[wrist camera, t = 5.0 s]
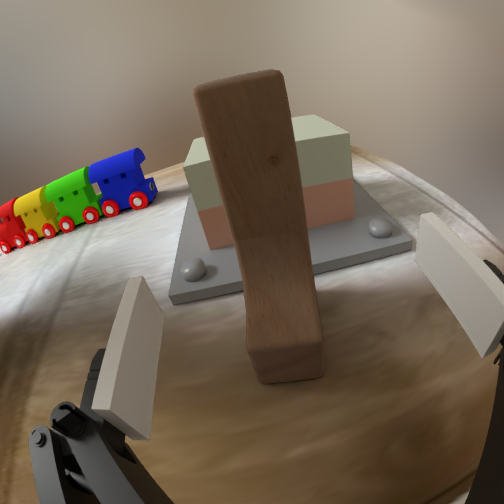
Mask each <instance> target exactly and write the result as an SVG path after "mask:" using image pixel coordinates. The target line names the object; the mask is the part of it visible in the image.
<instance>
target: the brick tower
mask: <svg viewBox="0 0 504 504" xmlns="http://www.w3.org/2000/svg"><path fill="white" fill-rule="evenodd" d="M291 119H292V125H293V131H294V137H295V143H296V149H297V155H298V162H299V168H300V175H301V182H302V189H303V196H304V204H305V212H306V220H307V228H308V236H309V244H310V252H311V260H312V268H313V275H315V274H319V273H323V272H327V271H331V270H335V269H339V268H343V267H348V266H352V265H356V264H359V263H363V262H367V261H371V260H375V259H379V258H383V257H387V256H390V255H394V254H398V253H402V252H405V251H409V250H411V248H412V239H411V238H410V237H409V236H408V235H407V234H406V232H405V231H404V230H403V229H402V228H401V227H400V226H399V225H398V224H397V223H396V222H395V221H394V220H393V219H392V217H391V216H390V215H389V214H388V213H387V212H386V211H385V210H384V209H383V208H382V207H381V206H380V205H379V204H378V203H377V202H376V201H375V200H374V199H373V198H372V197H371V196H370V195H369V194H368V193H367V192H366V191H365V190H364V189H363V188H362V187H361V186H359V185H358V184H357V183H356V182H355V181H354V180H353V172H352V158H351V146H350V135H349V133H348V132H347V131H345V130H343V129H341V128H339V127H337V126H335V125H334V124H332V123H330V122H328V121H326V120H324V119H322V118H320V117H318V116H316V115H314V114H313V115H307V116H301V117H294V118H291ZM183 169H184V172H185V175H186V178H187V181H188V184H189V188H190V191H191V193H190V194H189V198H188V202H187V207H186V211H185V216H184V220H183V225H182V229H181V234H180V239H179V244H178V249H177V254H176V259H175V264H174V269H173V274H172V280H171V285H170V291H169V297H170V299H171V301H172V303H173V305H175V304H180V303H185V302H190V301H195V300H200V299H205V298H210V297H215V296H220V295H225V294H230V293H234V292H239V291H244V290H243V282H242V277H241V272H240V268H239V263H238V259H237V254H236V250H235V247H234V243H233V240H232V236H231V233H230V229H229V226H228V222H227V219H226V215H225V212H224V208H223V204H222V201H221V197H220V194H219V190H218V187H217V183H216V179H215V176H214V172H213V169H212V165H211V161H210V158H209V154H208V150H207V147H206V143H205V139H204V137H201V138H197V139H194V141H193V143H192V146H191V148H190V151H189V153H188V156H187V158H186V161H185V163H184V166H183Z"/></svg>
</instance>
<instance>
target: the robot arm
mask: <svg viewBox="0 0 504 504" xmlns="http://www.w3.org/2000/svg"><path fill="white" fill-rule="evenodd" d="M414 261H415V262H416V263H417V265H418V266H419V267H420V269H421V270H422V271H423V272H424V274H425V275H426V276H427V278H428V279H429V280H430V282H431V283H432V284H433V286H434V287H435V288H436V290H437V291H438V293H439V294H440V295H441V297H442V298H443V300H444V301H445V302H446V304H447V305H448V307H449V308H450V310H451V311H452V312H453V314H454V315H455V317H456V318H457V320H458V321H459V323H460V324H461V326H462V327H463V329H464V330H465V332H466V334H467V335H468V337H469V338H470V340H471V341H472V343H473V345H474V346H475V348H476V350H477V351H478V353H479V355H480V356H481V358H484V357H485V356H487V355H489V354H491V353H492V352H494V351H495V349H496V348H497V346H498V344H499V343H501V345H502V346H503V348H502V349H501V351H500V352H499V354H498V355H497V357H496V358H495V360H494V363H493V364H496V363H497V361H498V360H499V358H500V363H499V364H498V365H499V373H498V381H497V388H496V395H495V401H494V406H493V412H492V417H491V421H490V426H489V430H488V434H487V438H486V442H485V446H484V450H483V453H482V457H481V460H480V463H479V466H478V469H477V472H476V475H475V478H474V481H473V484H472V486H471V489H470V492H469V494H468V497H467V499H466V502H465V504H504V275H502V272H501V271H500V270H499V269H498V268H497V267H496V266H495V265H494V264H492V263H491V262H489V261H487V260H483V261H482V260H481V258H480V257H479V256H478V255H477V254H476V253H475V252H474V251H473V250H472V249H471V248H470V247H469V246H468V245H467V244H466V243H465V242H464V241H463V240H462V239H461V238H460V237H459V236H458V235H457V234H456V233H455V232H454V231H453V230H452V229H451V228H449V227H448V226H447V225H446V224H445V223H444V222H443V221H442V220H441V219H440V218H439V217H438V216H436V215H435V214H434V213H433V212H429V213H425V214H420V221H419V230H418V238H417V245H416V252H415V259H414ZM164 320H165V316H164V314H163V312H162V311H161V309H160V307H159V305H158V304H157V302H156V300H155V298H154V296H153V295H152V293H151V291H150V289H149V287H148V285H147V283H146V281H145V280H144V278H143V276H139V277H135V278H130V279H128V281H127V284H126V287H125V290H124V292H123V295H122V298H121V301H120V304H119V308H118V311H117V314H116V317H115V320H114V323H113V327H112V330H111V333H110V337H109V340H108V344H107V347H106V348H105V349H99V350H98V352H97V353H96V355H95V356H94V358H93V359H92V363H91V366H90V372H89V373H88V377H87V379H88V380H87V381H86V385H85V389H84V392H83V397H82V401H81V405H80V409H79V408H78V407H76V406H75V405H74V404H73V403H70V402H62V403H60V404H58V405H57V406H56V407H55V408H54V409H53V411H52V413H51V417H50V425H51V427H52V428H53V429H54V430H51V429H49V428H48V427H47V426H44V425H38V426H36V427H35V428H34V429H33V430H32V431H31V433H30V436H29V448H30V456H31V463H32V469H33V475H34V480H35V485H36V490H37V495H38V499H39V503H40V504H174V503H173V502H172V501H171V499H170V498H169V497H168V496H167V495H166V494H165V492H164V491H163V490H162V489H161V488H160V487H159V485H158V484H157V483H156V482H155V480H154V479H153V478H152V477H151V475H150V474H149V473H148V471H147V470H146V469H145V468H144V466H143V465H142V464H141V462H140V461H139V460H138V458H137V457H136V455H135V454H134V453H133V451H132V450H131V448H130V447H129V445H128V444H127V443H126V442H125V435H126V436H128V437H129V438H131V439H132V440H150V437H151V425H152V414H153V403H154V394H155V385H156V377H157V369H158V361H159V354H160V347H161V340H162V333H163V327H164Z"/></svg>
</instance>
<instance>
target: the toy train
mask: <svg viewBox="0 0 504 504" xmlns="http://www.w3.org/2000/svg"><path fill="white" fill-rule="evenodd" d="M144 160H145V156H144V154H143V152H142V151H141V150H140V149H139V148H135V149H132V150H129V151H126V152H123V153H120V154H118V155H115V156H112V157H110V158H107V159H104V160H101V161H99V162H96V163H94V164H92V165H91V166H90V167H87V166H86V167H84V168H82V169H79V170H77V171H75V172H73V173H71V174H68V175H66V176H64V177H62V178H60V179H58V180H56V181H54V182H52V183H50V184H48V185H47V186H43V187H41V188H39V189H37V190H35V191H32V192H30V193H28V194H26V195H24V196H22V197H20V198H15V199H13V200H11V201H9V202H7V203H6V204H4V205H2V206H1V207H0V248H1V250H2V251H3V252H4V253H5V254H7V253H9V252H10V251H11V248H12V247H15V246H17V247H18V248H22V247H24V246H25V244H26V242H27V241H29V242H30V243H32V244H33V243H36V242H38V240H39V238H40V237H43V236H45V237H46V238H48V239H50V238H53V237H54V236H55V235H56V232H58V231H59V230H60V229H61V230H62V231H63V232H65V233H68V232H70V231H73V230H74V228H75V225H77V224H80V223H82V222H86V223H88V224H92V223H95V222H97V221H98V220H99V217H100V216H101V215H103V213H104V214H105V215H106V216H107V217H113V216H116V215H118V214H119V211H120V210H122V209H125V208H129V207H132V208H134V209H135V210H139V209H143V208H145V207H146V206H147V205H148V202H151V201H152V200H153V198H154V197H155V195H156V193H157V192H158V190H157V188H156V185H155V182H154V179H153V177H151V178H148V179H145V178H144V175H143V172H142V170H141V167H140V164H141V163H142V162H143V161H144ZM95 182H97V183H98V185H99V187H100V190H101V192H102V193H100V194H98V195H96V194H95V192H94V189H93V187H92V184H93V183H95ZM53 201H54V203H55V205H56V208H57V209H56V208H55V205H54V203H53ZM57 210H58V211H57ZM1 219H2V222H1Z"/></svg>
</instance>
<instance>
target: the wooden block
mask: <svg viewBox="0 0 504 504" xmlns="http://www.w3.org/2000/svg"><path fill="white" fill-rule="evenodd" d="M193 98H194V102H195V106H196V109H197V113H198V117H199V121H200V125H201V128H202V132H203V135H204V139H205V143H206V147H207V150H208V154H209V158H210V161H211V165H212V169H213V172H214V176H215V179H216V183H217V187H218V190H219V194H220V197H221V201H222V204H223V208H224V212H225V215H226V219H227V222H228V226H229V229H230V233H231V236H232V240H233V243H234V247H235V250H236V254H237V259H238V263H239V268H240V272H241V277H242V282H243V290H244V298H245V306H246V348H247V351H248V354H249V356H250V359H251V361H252V364H253V367H254V369H255V372H256V374H257V377H258V379H259V381H260V383H263V384H270V383H280V382H289V381H297V380H305V379H312V378H319V377H321V376H323V374H324V343H323V334H322V327H321V321H320V315H319V309H318V303H317V296H316V289H315V282H314V275H313V268H312V260H311V252H310V244H309V236H308V228H307V220H306V212H305V204H304V196H303V189H302V182H301V175H300V168H299V162H298V155H297V149H296V143H295V137H294V131H293V125H292V119H291V114H290V108H289V103H288V97H287V92H286V87H285V82H284V77H283V75H282V73H281V72H280V71H278V70H272V69H270V70H264V71H258V72H253V73H247V74H242V75H238V76H233V77H229V78H224V79H219V80H215V81H211V82H207V83H204V84H201V85H198V86H197V87H195V88H194V89H193Z"/></svg>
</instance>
